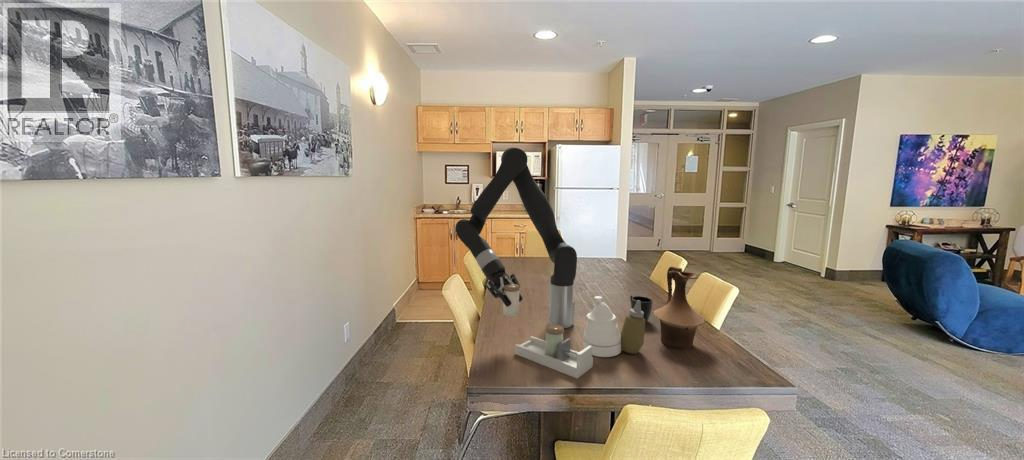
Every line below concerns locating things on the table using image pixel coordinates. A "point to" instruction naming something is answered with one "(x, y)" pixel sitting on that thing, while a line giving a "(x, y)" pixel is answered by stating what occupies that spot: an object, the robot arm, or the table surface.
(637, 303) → the squeeze bottle
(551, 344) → the sage jar
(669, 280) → the pitcher
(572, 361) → the jar lane
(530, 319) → the table surface
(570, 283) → the robot arm
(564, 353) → the pusher
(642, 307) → the mug
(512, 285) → the cream jar
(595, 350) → the honey pot
